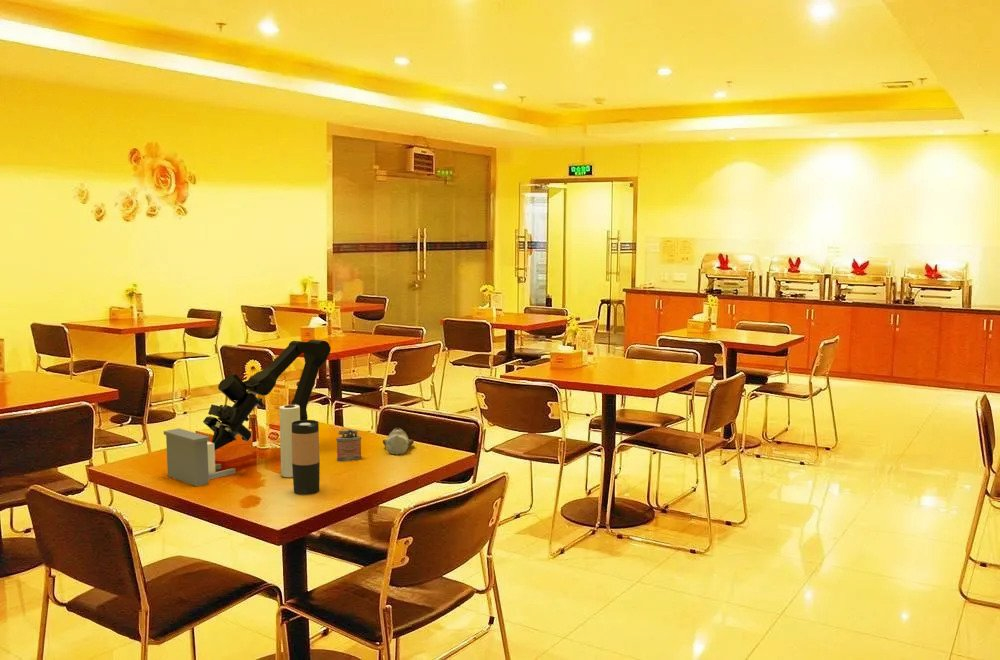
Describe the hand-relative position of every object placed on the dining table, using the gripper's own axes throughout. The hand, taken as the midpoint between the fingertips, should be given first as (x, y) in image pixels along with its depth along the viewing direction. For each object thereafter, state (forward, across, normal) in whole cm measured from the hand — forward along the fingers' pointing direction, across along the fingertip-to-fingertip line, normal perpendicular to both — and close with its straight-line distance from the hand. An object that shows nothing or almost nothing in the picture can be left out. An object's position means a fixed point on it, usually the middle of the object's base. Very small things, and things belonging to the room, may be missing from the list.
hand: (210, 451), depth 263 cm
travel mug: (0, +36, +11) cm, 38 cm away
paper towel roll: (-6, +19, +17) cm, 26 cm away
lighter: (-22, +18, +33) cm, 44 cm away
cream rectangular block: (+7, 0, +4) cm, 8 cm away
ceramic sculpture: (-35, +22, +46) cm, 62 cm away
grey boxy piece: (+7, 0, +4) cm, 8 cm away
